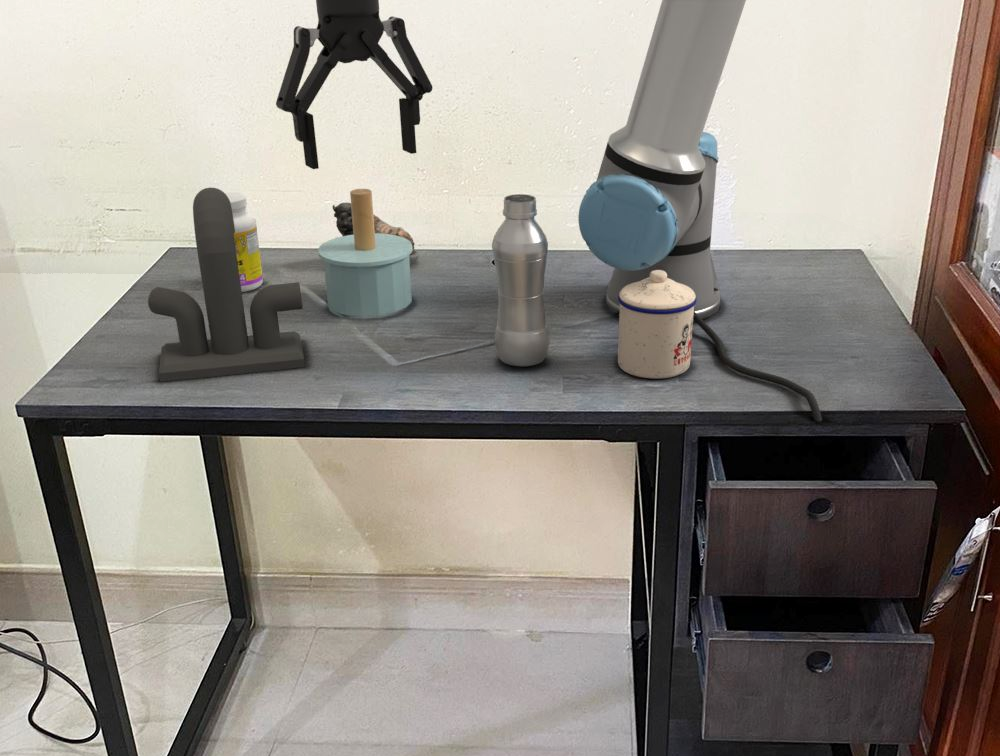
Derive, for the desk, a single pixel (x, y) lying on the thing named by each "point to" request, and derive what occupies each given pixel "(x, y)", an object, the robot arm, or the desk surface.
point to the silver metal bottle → (520, 284)
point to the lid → (364, 239)
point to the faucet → (225, 309)
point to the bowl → (368, 288)
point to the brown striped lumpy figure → (346, 226)
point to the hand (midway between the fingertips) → (361, 159)
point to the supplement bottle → (246, 243)
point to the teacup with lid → (655, 327)
